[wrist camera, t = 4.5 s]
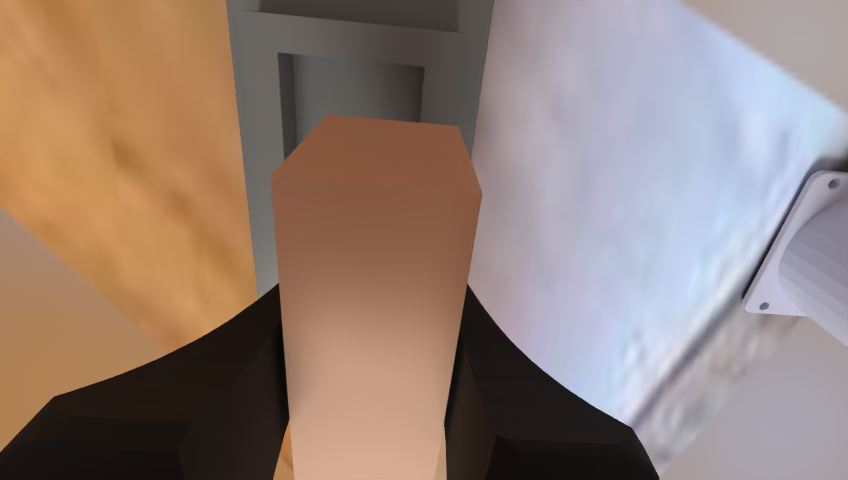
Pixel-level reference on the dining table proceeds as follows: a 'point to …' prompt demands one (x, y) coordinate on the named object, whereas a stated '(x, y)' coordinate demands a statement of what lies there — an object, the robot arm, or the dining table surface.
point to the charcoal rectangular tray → (345, 79)
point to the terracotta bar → (372, 292)
